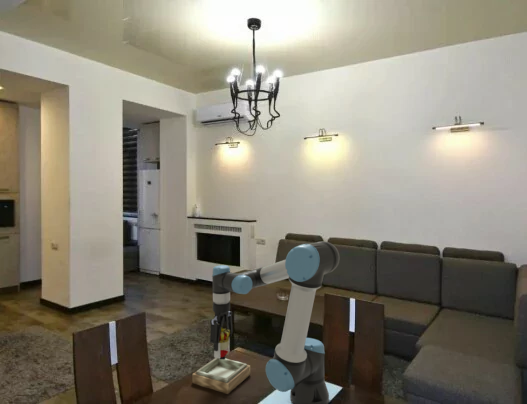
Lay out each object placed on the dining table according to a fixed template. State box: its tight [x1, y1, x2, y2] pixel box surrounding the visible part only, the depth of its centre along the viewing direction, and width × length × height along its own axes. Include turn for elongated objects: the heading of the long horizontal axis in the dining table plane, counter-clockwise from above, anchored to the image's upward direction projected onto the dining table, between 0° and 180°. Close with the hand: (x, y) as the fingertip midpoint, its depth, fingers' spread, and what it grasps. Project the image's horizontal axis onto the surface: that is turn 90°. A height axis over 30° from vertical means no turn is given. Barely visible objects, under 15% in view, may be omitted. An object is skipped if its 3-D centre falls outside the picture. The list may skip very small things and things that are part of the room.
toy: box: [219, 327, 230, 359], centre depth 157 cm, size 7×7×15 cm
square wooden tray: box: [192, 357, 251, 395], centre depth 157 cm, size 18×18×5 cm
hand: (222, 354), depth 157 cm, fingers closed on toy, 6 cm apart
